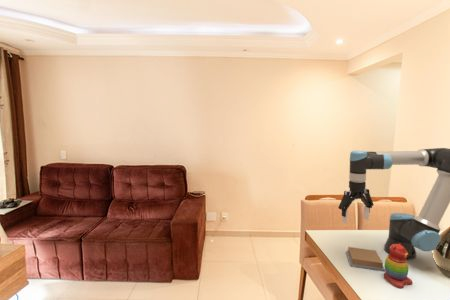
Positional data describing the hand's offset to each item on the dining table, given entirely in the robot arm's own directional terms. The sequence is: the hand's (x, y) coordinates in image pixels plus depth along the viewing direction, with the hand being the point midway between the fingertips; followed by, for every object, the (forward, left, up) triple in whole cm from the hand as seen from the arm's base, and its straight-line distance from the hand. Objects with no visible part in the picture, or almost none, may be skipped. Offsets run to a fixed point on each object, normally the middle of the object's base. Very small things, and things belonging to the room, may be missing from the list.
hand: (355, 220), depth 128 cm
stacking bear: (-17, +8, -25) cm, 31 cm away
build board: (-6, -5, -25) cm, 26 cm away
